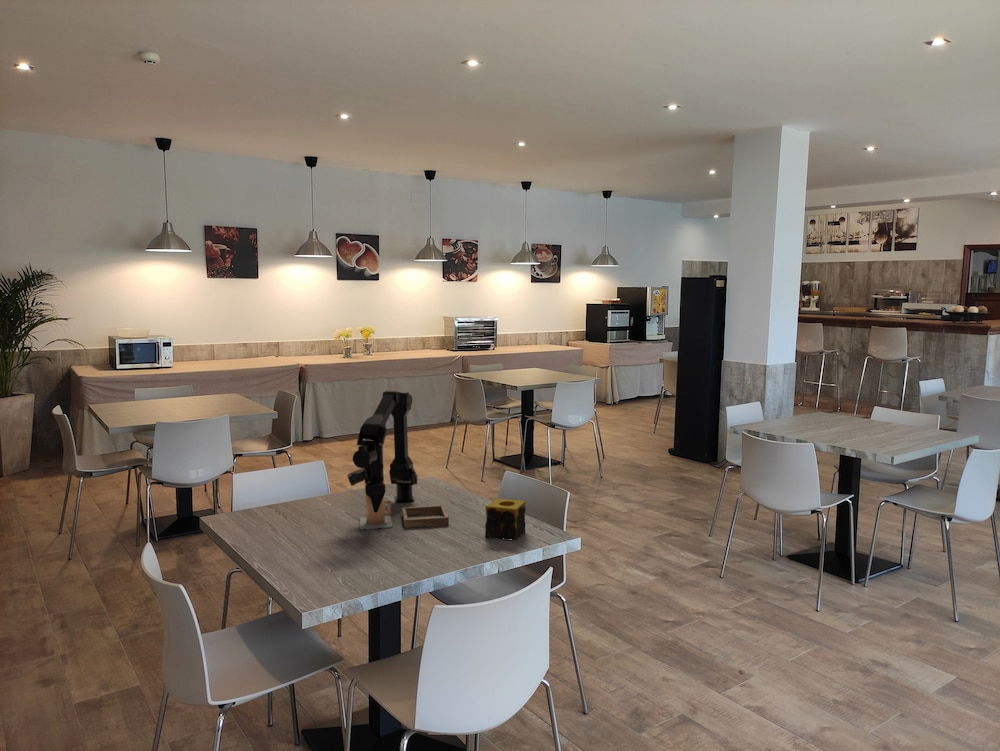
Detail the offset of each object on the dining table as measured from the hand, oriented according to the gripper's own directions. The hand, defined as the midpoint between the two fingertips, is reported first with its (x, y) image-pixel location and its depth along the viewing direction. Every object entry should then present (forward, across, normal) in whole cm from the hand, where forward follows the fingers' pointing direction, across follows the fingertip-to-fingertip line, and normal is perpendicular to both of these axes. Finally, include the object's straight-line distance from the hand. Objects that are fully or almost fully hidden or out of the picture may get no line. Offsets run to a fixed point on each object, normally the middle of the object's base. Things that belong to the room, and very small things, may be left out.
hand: (375, 508), depth 234 cm
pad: (+5, 0, 0) cm, 5 cm away
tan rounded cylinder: (+5, 0, 0) cm, 5 cm away
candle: (+5, +20, +39) cm, 44 cm away
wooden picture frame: (+5, 0, +16) cm, 17 cm away
